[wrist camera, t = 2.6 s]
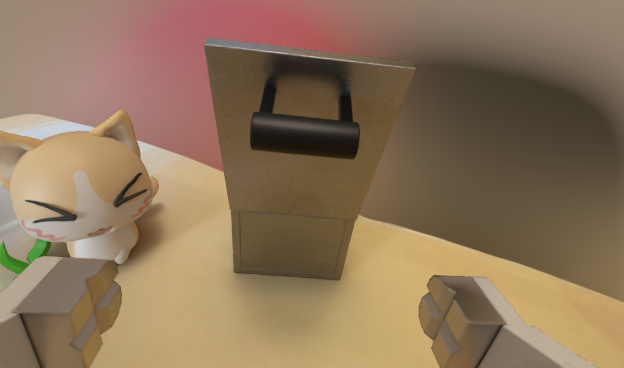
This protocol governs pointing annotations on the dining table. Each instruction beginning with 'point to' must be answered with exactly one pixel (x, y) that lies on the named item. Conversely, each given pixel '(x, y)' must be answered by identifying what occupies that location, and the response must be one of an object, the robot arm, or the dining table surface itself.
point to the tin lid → (302, 125)
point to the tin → (289, 244)
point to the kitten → (77, 190)
